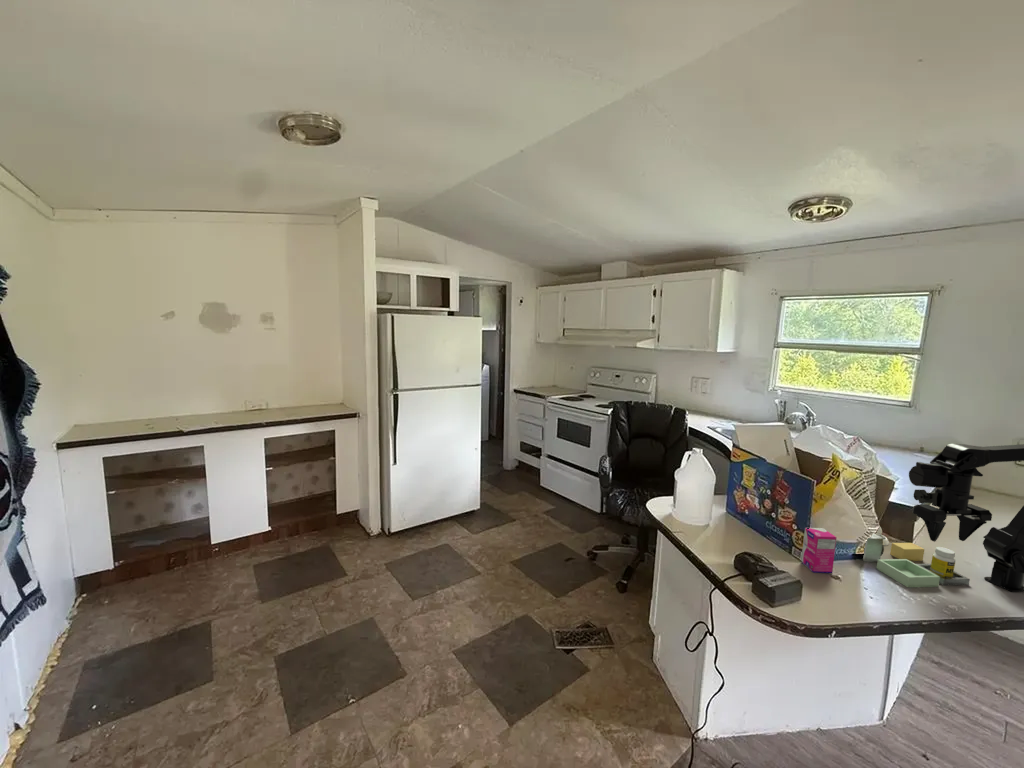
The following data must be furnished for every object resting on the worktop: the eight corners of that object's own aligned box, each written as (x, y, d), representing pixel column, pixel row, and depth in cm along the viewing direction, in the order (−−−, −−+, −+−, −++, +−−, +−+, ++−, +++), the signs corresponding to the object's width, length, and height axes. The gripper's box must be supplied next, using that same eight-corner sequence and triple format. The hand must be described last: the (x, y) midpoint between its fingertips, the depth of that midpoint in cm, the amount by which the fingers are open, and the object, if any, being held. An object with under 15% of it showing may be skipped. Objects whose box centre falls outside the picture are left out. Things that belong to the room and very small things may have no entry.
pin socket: (938, 569, 130) (939, 563, 129) (968, 584, 122) (969, 579, 121) (913, 569, 129) (914, 563, 129) (943, 585, 121) (944, 579, 121)
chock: (909, 554, 138) (911, 542, 138) (922, 561, 134) (924, 549, 134) (890, 554, 138) (891, 542, 137) (902, 561, 134) (904, 549, 133)
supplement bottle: (947, 583, 122) (951, 555, 121) (925, 574, 126) (930, 547, 125) (955, 579, 124) (960, 552, 123) (934, 571, 128) (938, 544, 127)
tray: (905, 568, 129) (906, 559, 129) (938, 586, 120) (940, 576, 120) (876, 568, 128) (877, 559, 128) (907, 587, 119) (909, 577, 119)
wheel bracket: (872, 553, 138) (876, 527, 136) (885, 561, 133) (890, 534, 132) (851, 553, 137) (855, 527, 136) (864, 561, 132) (868, 534, 131)
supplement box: (799, 562, 130) (804, 526, 129) (819, 563, 130) (824, 527, 129) (812, 573, 125) (817, 536, 123) (833, 574, 125) (838, 537, 123)
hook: (842, 515, 154) (863, 507, 153) (864, 547, 151) (885, 539, 149) (850, 519, 148) (871, 510, 146) (873, 552, 144) (895, 544, 142)
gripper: (953, 479, 131) (945, 527, 133) (898, 479, 129) (890, 528, 131) (997, 492, 120) (988, 545, 122) (937, 493, 118) (929, 546, 120)
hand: (947, 540), depth 124 cm, fingers open, 9 cm apart
